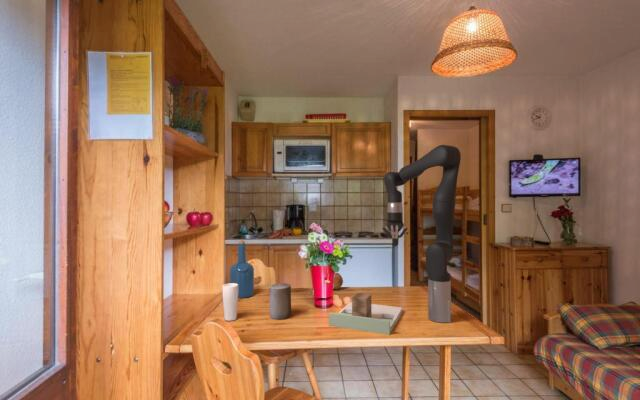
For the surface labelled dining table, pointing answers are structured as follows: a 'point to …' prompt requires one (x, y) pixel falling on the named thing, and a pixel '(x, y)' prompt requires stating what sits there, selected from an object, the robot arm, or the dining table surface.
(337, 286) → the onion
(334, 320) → the shallow open tray
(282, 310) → the pillar candle
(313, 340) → the dining table surface
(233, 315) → the drinking glass
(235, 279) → the wine bottle
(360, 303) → the walnut block
